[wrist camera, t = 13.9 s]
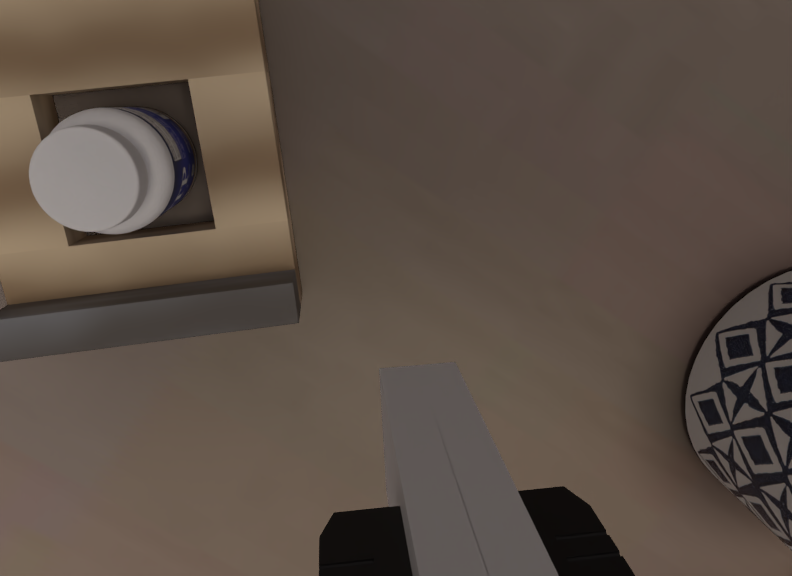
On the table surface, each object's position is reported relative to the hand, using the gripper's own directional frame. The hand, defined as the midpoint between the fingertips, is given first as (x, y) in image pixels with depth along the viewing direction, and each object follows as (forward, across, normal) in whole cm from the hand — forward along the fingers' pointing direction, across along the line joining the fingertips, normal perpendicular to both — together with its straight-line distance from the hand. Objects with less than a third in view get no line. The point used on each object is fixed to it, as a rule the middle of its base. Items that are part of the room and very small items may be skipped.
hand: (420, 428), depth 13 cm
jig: (+23, -11, +4) cm, 25 cm away
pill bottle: (+23, -11, +4) cm, 26 cm away
